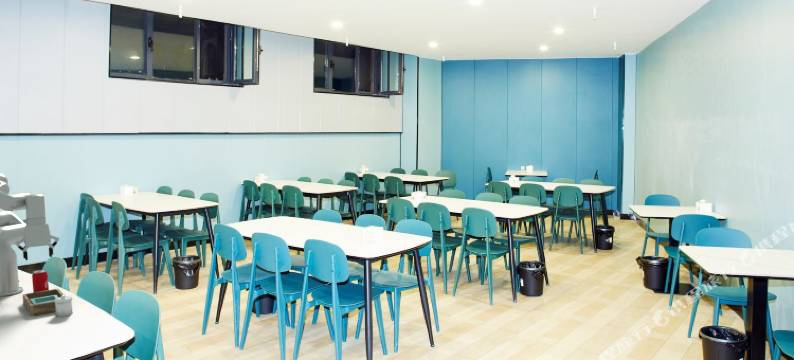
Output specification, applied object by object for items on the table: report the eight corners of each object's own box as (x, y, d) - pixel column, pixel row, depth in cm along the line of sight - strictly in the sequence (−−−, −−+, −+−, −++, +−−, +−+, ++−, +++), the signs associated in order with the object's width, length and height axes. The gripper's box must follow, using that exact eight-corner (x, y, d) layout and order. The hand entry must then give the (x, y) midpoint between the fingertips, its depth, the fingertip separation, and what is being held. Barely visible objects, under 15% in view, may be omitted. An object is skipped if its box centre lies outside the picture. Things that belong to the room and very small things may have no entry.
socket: (30, 304, 259) (30, 299, 259) (56, 300, 265) (56, 294, 265) (34, 310, 251) (33, 304, 251) (60, 305, 258) (60, 299, 257)
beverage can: (52, 294, 277) (50, 269, 276) (43, 298, 271) (41, 272, 270) (39, 294, 278) (38, 269, 276) (30, 298, 271) (28, 272, 270)
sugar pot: (58, 312, 250) (56, 293, 249) (75, 311, 252) (73, 292, 251) (53, 317, 244) (51, 298, 243) (70, 316, 245) (69, 296, 245)
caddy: (23, 304, 263) (22, 294, 262) (59, 298, 271) (58, 288, 271) (31, 316, 246) (30, 305, 245) (69, 309, 254) (68, 299, 254)
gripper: (15, 224, 262) (17, 262, 264) (59, 220, 273) (61, 256, 275) (12, 222, 268) (15, 259, 270) (56, 218, 279) (58, 254, 281)
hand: (38, 258), depth 272 cm, fingers open, 9 cm apart
